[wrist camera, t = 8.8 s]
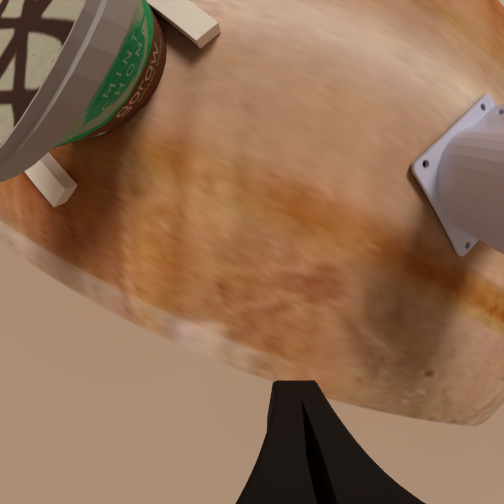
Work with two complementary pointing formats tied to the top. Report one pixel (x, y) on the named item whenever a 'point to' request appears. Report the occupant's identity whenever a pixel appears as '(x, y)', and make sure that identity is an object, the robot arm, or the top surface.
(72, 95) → the food container
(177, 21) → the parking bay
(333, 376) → the top surface
